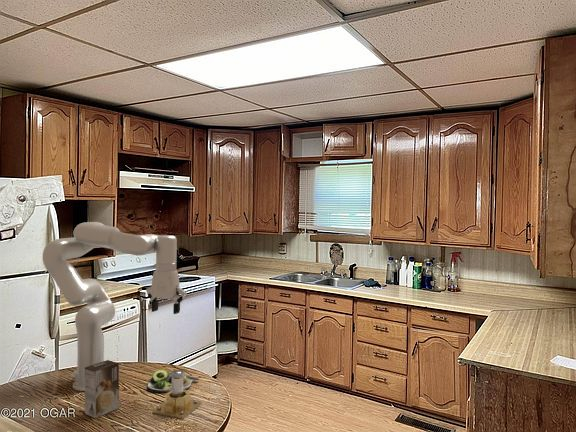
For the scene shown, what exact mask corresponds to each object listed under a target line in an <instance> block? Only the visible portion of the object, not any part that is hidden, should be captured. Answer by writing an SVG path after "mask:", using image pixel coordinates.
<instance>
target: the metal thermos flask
mask: <svg viewBox="0 0 576 432" xmlns="http://www.w3.org/2000/svg"><path fill="white" fill-rule="evenodd" d="M184 372H185V370H183V369H173V370H172V371H171V374H172V388H171V389H170V390H171V397H173V398H180V397H183V377H184V374H185V373H184Z"/></svg>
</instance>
